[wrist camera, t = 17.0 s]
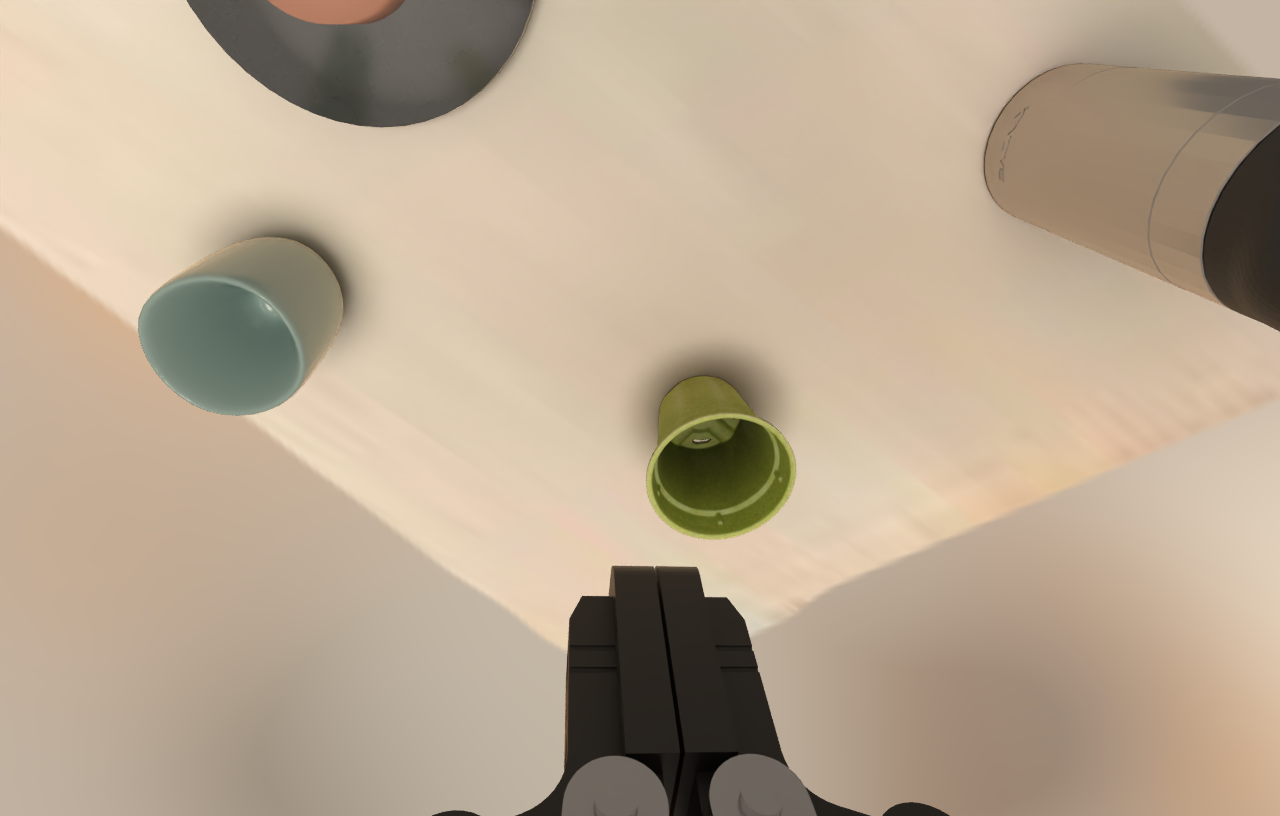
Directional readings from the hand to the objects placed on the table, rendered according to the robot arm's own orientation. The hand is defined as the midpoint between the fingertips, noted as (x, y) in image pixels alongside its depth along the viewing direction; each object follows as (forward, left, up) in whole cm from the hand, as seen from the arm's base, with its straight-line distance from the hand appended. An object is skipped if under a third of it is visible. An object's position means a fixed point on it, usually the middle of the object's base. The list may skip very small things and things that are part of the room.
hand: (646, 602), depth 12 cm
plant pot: (-9, +15, -35) cm, 39 cm away
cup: (+18, +7, -35) cm, 40 cm away
